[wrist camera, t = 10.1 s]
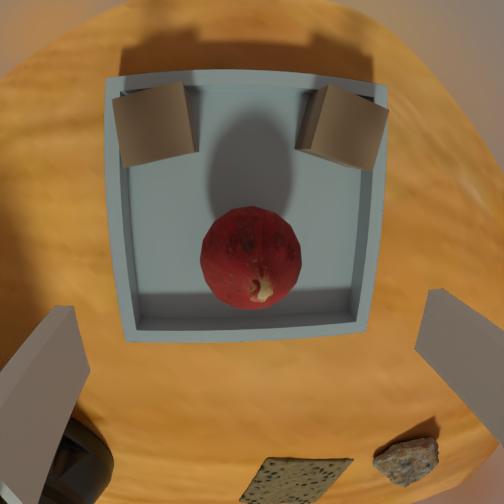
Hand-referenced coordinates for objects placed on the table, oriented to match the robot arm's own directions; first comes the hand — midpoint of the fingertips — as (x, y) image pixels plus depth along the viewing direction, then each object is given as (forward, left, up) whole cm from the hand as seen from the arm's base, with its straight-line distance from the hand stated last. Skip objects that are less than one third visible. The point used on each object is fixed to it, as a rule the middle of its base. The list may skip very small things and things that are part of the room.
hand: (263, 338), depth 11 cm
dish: (0, +2, -13) cm, 13 cm away
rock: (+22, -30, -13) cm, 40 cm away
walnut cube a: (-5, +8, -12) cm, 15 cm away
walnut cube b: (+6, +8, -12) cm, 15 cm away
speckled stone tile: (+7, -32, -13) cm, 36 cm away
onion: (0, 0, -12) cm, 12 cm away
